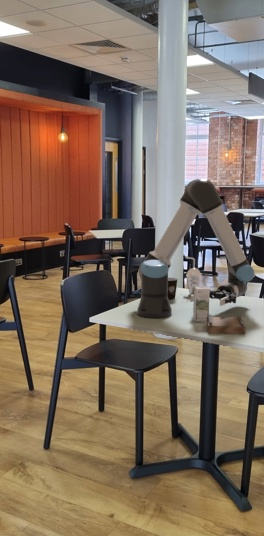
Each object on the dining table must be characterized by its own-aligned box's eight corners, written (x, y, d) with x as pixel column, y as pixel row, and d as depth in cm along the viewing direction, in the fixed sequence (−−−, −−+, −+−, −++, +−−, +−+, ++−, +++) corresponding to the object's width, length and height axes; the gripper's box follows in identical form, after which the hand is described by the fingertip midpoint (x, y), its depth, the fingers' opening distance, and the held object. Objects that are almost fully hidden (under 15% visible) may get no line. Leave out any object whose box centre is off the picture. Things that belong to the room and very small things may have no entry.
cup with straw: (201, 296, 273) (202, 257, 270) (183, 295, 274) (184, 257, 271) (202, 292, 281) (202, 255, 278) (184, 292, 282) (185, 255, 279)
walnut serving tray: (208, 333, 203) (208, 323, 203) (206, 324, 217) (206, 314, 216) (245, 334, 202) (245, 323, 201) (240, 324, 216) (241, 315, 215)
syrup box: (206, 319, 225) (207, 285, 223) (208, 322, 219) (209, 288, 217) (193, 319, 225) (193, 285, 223) (195, 322, 219) (195, 288, 217)
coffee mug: (177, 296, 271) (177, 277, 269) (177, 300, 262) (177, 280, 261) (154, 296, 272) (154, 277, 270) (153, 300, 263) (153, 280, 262)
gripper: (253, 303, 233) (233, 313, 216) (202, 297, 247) (179, 305, 230) (253, 287, 232) (233, 295, 215) (202, 281, 246) (180, 288, 229)
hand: (205, 300), depth 222 cm, fingers open, 13 cm apart
